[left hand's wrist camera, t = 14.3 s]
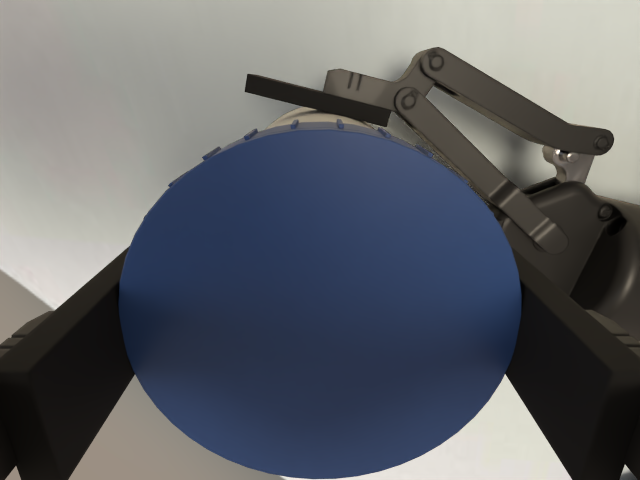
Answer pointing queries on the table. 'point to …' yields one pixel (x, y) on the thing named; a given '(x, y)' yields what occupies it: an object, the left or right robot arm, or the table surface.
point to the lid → (320, 301)
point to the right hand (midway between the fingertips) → (234, 184)
